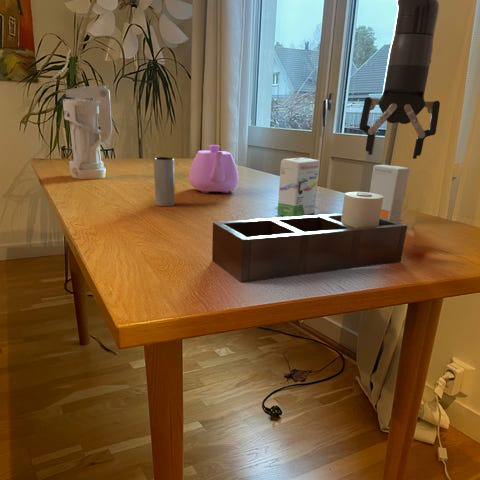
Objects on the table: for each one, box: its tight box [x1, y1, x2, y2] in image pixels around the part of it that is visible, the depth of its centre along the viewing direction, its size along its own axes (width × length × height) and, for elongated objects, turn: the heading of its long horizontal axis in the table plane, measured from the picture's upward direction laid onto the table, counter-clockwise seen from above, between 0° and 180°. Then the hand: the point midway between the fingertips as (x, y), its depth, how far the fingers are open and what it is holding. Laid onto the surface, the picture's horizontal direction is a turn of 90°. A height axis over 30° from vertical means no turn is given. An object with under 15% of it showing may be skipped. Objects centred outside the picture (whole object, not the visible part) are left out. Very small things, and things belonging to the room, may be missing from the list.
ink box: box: [276, 157, 321, 217], centre depth 105 cm, size 8×5×12 cm, turn 139°
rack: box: [211, 213, 408, 283], centre depth 74 cm, size 29×10×6 cm, turn 116°
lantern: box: [62, 85, 113, 180], centre depth 139 cm, size 13×10×25 cm
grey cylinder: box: [153, 156, 176, 207], centre depth 109 cm, size 4×4×10 cm
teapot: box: [188, 144, 239, 194], centre depth 127 cm, size 20×13×12 cm, turn 11°
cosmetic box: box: [369, 164, 411, 223], centre depth 98 cm, size 6×4×12 cm
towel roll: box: [341, 191, 383, 228], centre depth 77 cm, size 6×6×10 cm
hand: (392, 156), depth 95 cm, fingers open, 8 cm apart
